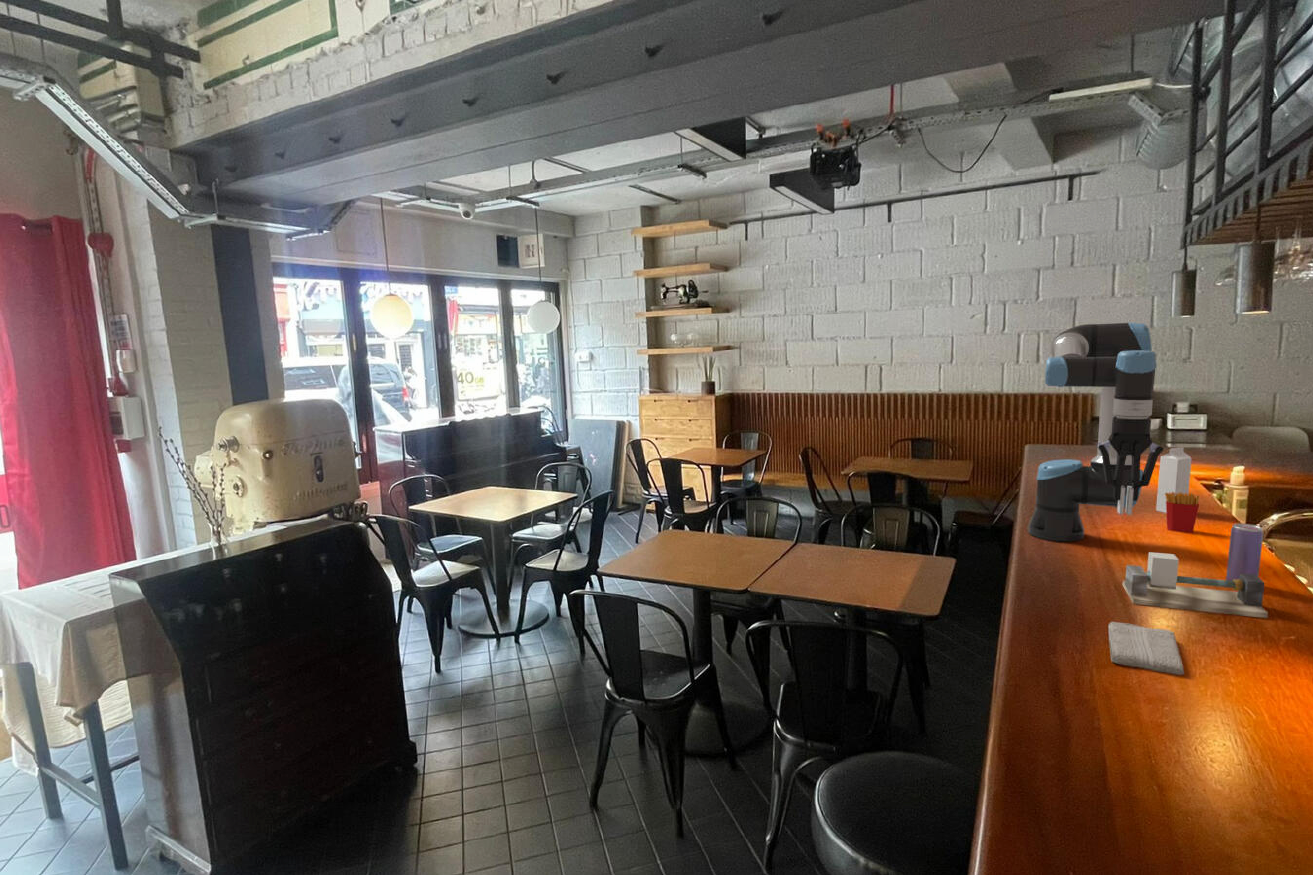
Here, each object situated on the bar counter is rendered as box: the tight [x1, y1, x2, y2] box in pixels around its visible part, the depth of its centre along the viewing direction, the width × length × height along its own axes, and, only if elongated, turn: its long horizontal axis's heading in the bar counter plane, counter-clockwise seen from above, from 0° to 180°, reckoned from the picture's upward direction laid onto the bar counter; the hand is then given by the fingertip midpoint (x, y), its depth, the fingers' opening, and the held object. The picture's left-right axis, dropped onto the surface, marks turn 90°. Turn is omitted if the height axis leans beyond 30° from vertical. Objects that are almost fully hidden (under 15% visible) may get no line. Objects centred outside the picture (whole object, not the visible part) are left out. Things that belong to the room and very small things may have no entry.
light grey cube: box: [1146, 551, 1180, 590], centre depth 164 cm, size 5×4×7 cm
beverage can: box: [1225, 523, 1264, 581], centre depth 169 cm, size 6×6×15 cm
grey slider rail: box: [1122, 564, 1269, 619], centre depth 162 cm, size 25×12×7 cm, turn 66°
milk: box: [1155, 446, 1192, 514], centre depth 229 cm, size 6×6×22 cm
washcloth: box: [1107, 621, 1185, 676], centre depth 140 cm, size 12×18×3 cm, turn 150°
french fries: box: [1165, 492, 1200, 533], centre depth 211 cm, size 8×4×12 cm, turn 57°
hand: (1124, 513), depth 165 cm, fingers closed
